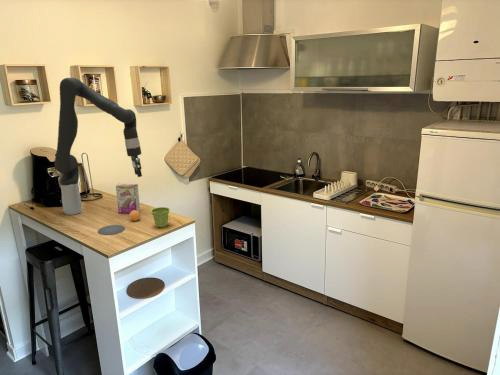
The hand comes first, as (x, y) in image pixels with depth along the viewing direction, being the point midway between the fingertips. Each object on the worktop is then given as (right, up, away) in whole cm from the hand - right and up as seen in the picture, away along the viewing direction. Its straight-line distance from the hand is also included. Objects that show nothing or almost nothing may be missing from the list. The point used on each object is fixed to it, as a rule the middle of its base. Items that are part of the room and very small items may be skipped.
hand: (138, 175), depth 210 cm
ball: (0, -22, -6) cm, 23 cm away
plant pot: (+16, -27, -13) cm, 34 cm away
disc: (-8, -28, -19) cm, 35 cm away
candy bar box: (-7, -21, +8) cm, 24 cm away
